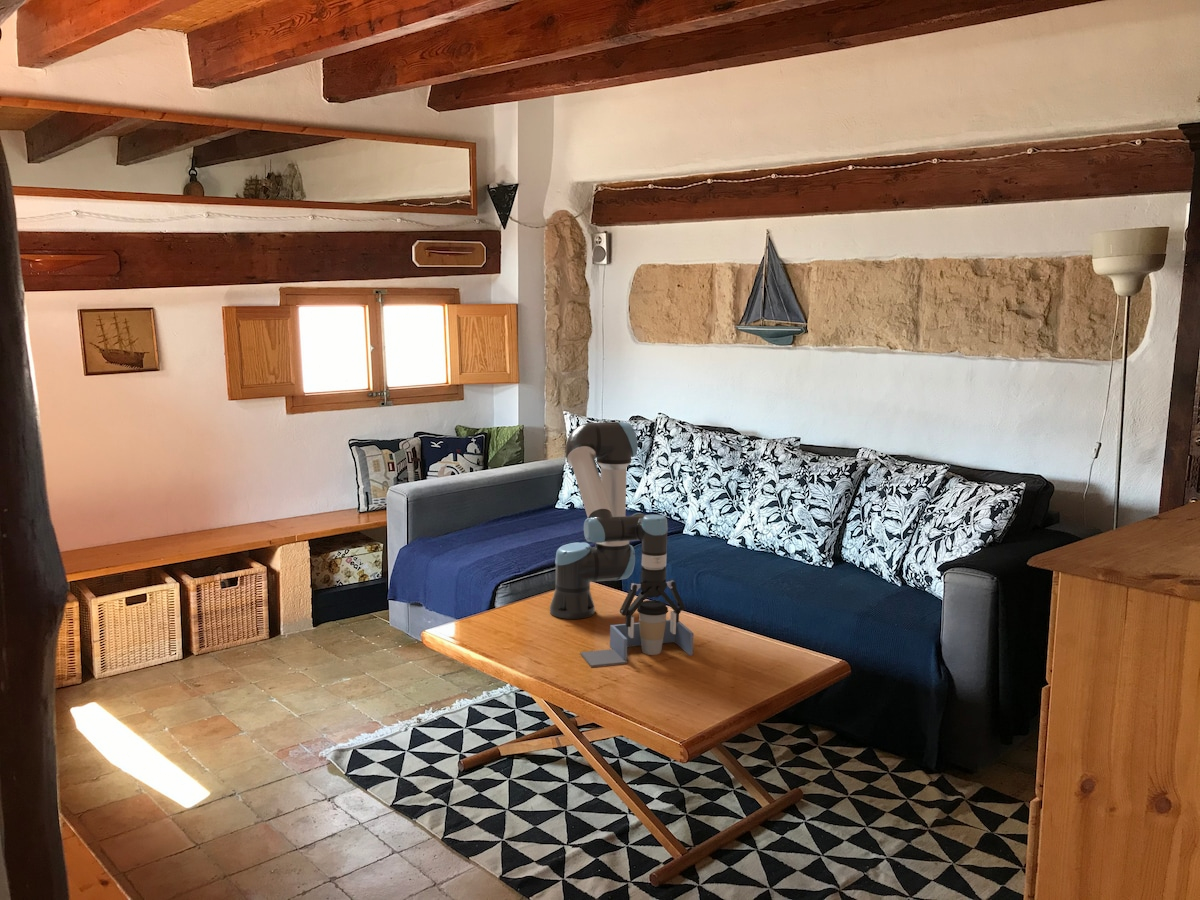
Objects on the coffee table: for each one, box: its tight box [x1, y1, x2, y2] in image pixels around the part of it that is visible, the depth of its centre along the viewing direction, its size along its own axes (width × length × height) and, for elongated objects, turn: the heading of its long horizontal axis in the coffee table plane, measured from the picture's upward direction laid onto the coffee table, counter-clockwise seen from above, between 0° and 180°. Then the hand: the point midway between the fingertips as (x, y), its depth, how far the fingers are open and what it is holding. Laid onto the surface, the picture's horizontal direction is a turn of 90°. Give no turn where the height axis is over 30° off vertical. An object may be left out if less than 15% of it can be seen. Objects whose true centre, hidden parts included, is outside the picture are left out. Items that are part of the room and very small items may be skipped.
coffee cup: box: [636, 599, 669, 656], centre depth 300 cm, size 9×9×15 cm
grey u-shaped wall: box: [609, 619, 694, 662], centre depth 301 cm, size 13×22×7 cm, turn 108°
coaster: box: [579, 648, 628, 668], centre depth 295 cm, size 11×11×1 cm
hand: (651, 634), depth 300 cm, fingers open, 13 cm apart
